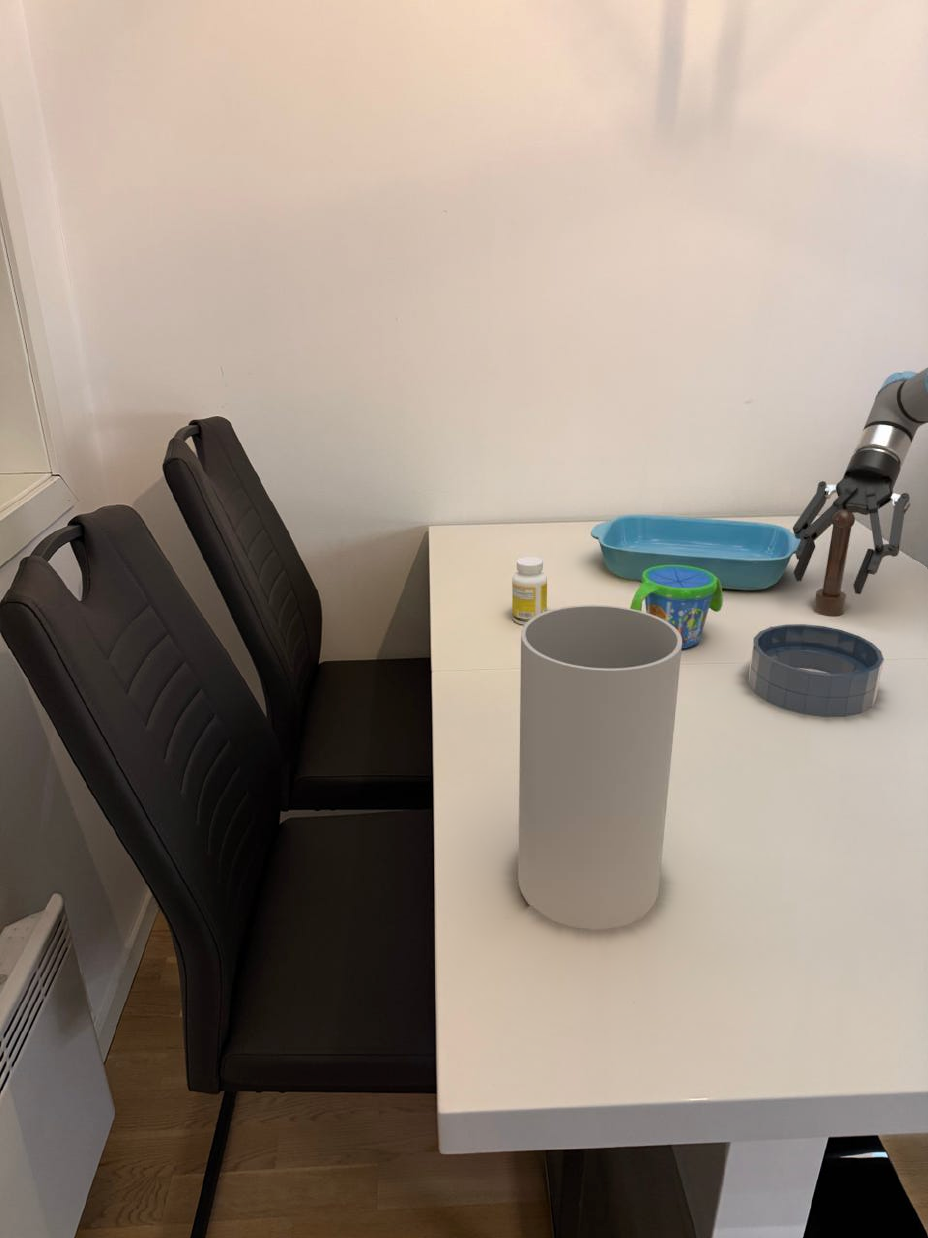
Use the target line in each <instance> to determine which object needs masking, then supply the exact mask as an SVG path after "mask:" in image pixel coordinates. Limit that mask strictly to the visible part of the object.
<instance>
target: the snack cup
mask: <svg viewBox="0 0 928 1238" xmlns="http://www.w3.org/2000/svg"><path fill="white" fill-rule="evenodd" d="M723 596H724V595H723V589H722V587H721V582H720V581H719V578H717V577H716V576H715V575H713V574H712V573H710V572H708V571H706V570H703V569H700V568H696V567H691V566H683V565H661V566H655V567H651V568H649V569H647V570H645V571H644V572H643V574H642V581H641V584H640V585H639V586H638V588H637V590H636V591H635V593H634V595H633V597H632V601H631V604H630V607H629V608H630V609H634V610H638V611H642V610H643V609H642V608H643V602H644V603H645V604H644V605H645V607H644V608H645V612H646V613H649V614H651V615H654V616H657V617H659V618H661V619H663V620H665V621H667V622H668V623H670V624H671V625H672V626H674V627H675V628H676V629H677V630H678V632H679V633H680V635H681V637H682V649H688V648H691V647H693V646H695V645H699V644H700V640H701V638H702V635H703V631H704V627H705V625H706V624H705V623H706V619H707V616H708V612H709V609H710V610H711V611H712V612H715V613H718V612H721V610H722V607H723V601H724V600H723V599H724V598H723Z"/></svg>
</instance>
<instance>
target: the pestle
mask: <svg viewBox="0 0 928 1238" xmlns="http://www.w3.org/2000/svg"><path fill="white" fill-rule="evenodd" d="M855 523H856V517H855V514H854V513H852V512H851V511H849V510H839V511H837V512H836V513H835V514H834V515H833V517H832V530H831V537H830V541H829V548H828V555H827V561H826V567H825V573H824V579H823V585H822V588H819V589H816V591H815V597H814V602H813V611H814V612H815V613H817V614H819V615H822V616H825V617H839V616H841V615H843V614H844V610H845V606H846V600H847V593H845V592H844V591H842V586H843V580H844V573H845V568H846V563H847V556H848V550H849V544H850V538H851V533H852V527H853V526H854V525H855Z"/></svg>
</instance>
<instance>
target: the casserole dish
mask: <svg viewBox="0 0 928 1238" xmlns="http://www.w3.org/2000/svg"><path fill="white" fill-rule="evenodd" d="M590 536H591V537H592V538H593V539H595V540H597V541H598V543H599V546H600V551H601V554H602V558H603V560H604V563H605V566H606V568H607V569H608V570H609V572H611V573H612V574H613V575H615V576H616V577H619V578H621V579H624V580H630V581H636V582H642V574H643V572H644V571H645V570H647V569H649V568H651V567H655V566H661V565H683V566H691V567H696V568H700V569H703V570H706V571H708V572H710V573H712V574H713V575H715V576H716V577H717V578H719V581H720V582H721V587H722V590H723V589H724V590H725V589H726V590H737V591H760V590H761V591H762V590H766V589H767V588H770V587H772V586H775V584H776V583H778V582H779V581H780V580H781V579H782V577H783V575H784V574H785V571H786V569H787V567H788V565H789V563H790V561H791V558H792V557H793V555H796V550H797V548H798V545H799V543H800V541H801V539H797V538H796V537H795V535H794V532H793V531H791V530H790V529H788V528H786V527H784V526H781V525H777V524H772V523H766V522H758V521H757V522H756V521H744V520H743V521H742V520H731V519H729V520H728V519H717V518H716V519H713V518H701V517H698V518H697V517H685V516H674V515H673V516H672V515H657V514H656V515H655V514H627V515H619V516H616V517H613V518H612V519H610V520H608V521H605V522H602V523H599V524H596V525H595V526H593V528H592V529H591V531H590Z"/></svg>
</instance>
